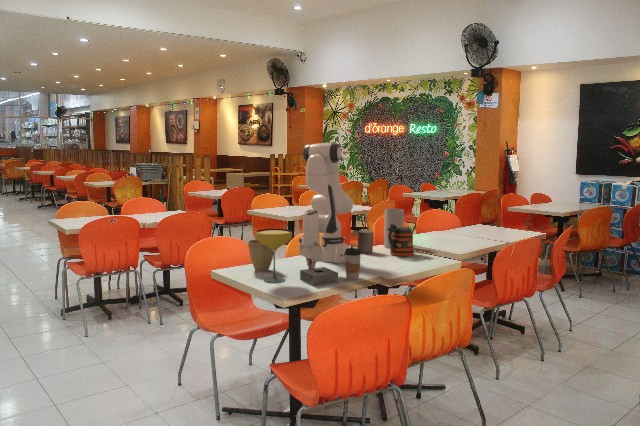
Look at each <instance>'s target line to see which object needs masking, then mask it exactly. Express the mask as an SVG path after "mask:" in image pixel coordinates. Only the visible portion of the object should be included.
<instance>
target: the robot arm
mask: <svg viewBox="0 0 640 426" xmlns="http://www.w3.org/2000/svg"><path fill="white" fill-rule="evenodd" d="M342 150H343V149H342V147H341V145H339V144H338V143H335V142H331V143H329V142H321V143H320V142H319V143H309V144H306V145H305V146H304V147H303V149H302V157H303V160H304V161H305V163H306V167H305V184H306V187H307V188H308V189H309V190H310V191H312V192H314V193H317V194H314V195H313V197H312V198H311V201H310V206H311V208H312V209H307V210H305V211H304V212H303V217H302V231H303V232H302V237H300V238H298V242H299V244H298V245H299V246H298V248H299V249H298V251H299V255H300V256H302V257H304V258H305V260H306V266H307V267H308V258H309V259H311V260H312V264H311V267H312V268H316V264H317V262H322V263H323V262H325V263H336V264H341V263H345V251H346V249H348V248H351V247H350V246H349V245H348V244H346V243H345V242H344V241H347V239H348V238H347V237H345V236H342V224H341V222H340V220H338V219H339V218H338V215H337V214H339V215H343V214H349V213H351V212H352V209H353V207H354V201H353V199H352V198H351V197H350V196H349V195H348V194H347V193H346V192H345V190H344V189H343V187H342V184H341V179H340V171H339V163H338V162H339V161H340V160H341V158H342V154H343V153H342ZM320 233H321V239H320ZM320 241H321V243H320Z"/></svg>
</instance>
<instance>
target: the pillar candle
mask: <svg viewBox="0 0 640 426" xmlns="http://www.w3.org/2000/svg"><path fill="white" fill-rule="evenodd" d="M373 241H374V231H373V230H368V229H360V230H358V231H357V249H360V251H361V255H369V254H373V252H374V251H373V250H374V249H373V248H374V247H373V245H374V242H373Z"/></svg>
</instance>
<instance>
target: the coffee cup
mask: <svg viewBox="0 0 640 426" xmlns="http://www.w3.org/2000/svg"><path fill="white" fill-rule="evenodd" d="M361 255H362V254H361V251H360V249H358V247H357V248H356V247H350V248H348V249H346V251H345V262H344V263H345V272H346V273H345V276H346V279H347V280H350V279H351V280H352V281H353V280H354V281H355V279H356V280H359V278H360V267H361ZM351 280H350V281H351Z"/></svg>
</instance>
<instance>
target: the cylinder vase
mask: <svg viewBox="0 0 640 426" xmlns="http://www.w3.org/2000/svg"><path fill="white" fill-rule="evenodd" d="M404 217H405V210H404V209H403V208H402V209H401V208H385V209H384V233H383V235H384V238H383V239H384V240H383V246H384V248H387V249H390V247H391V244H390V242H389V232H390V231H389V230H388V228H390V225H391V224H393V225H396V227H405V226H404V225H405V224H404V222H405V220H404ZM392 233H393V232H392ZM391 238H392V234H391Z"/></svg>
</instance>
